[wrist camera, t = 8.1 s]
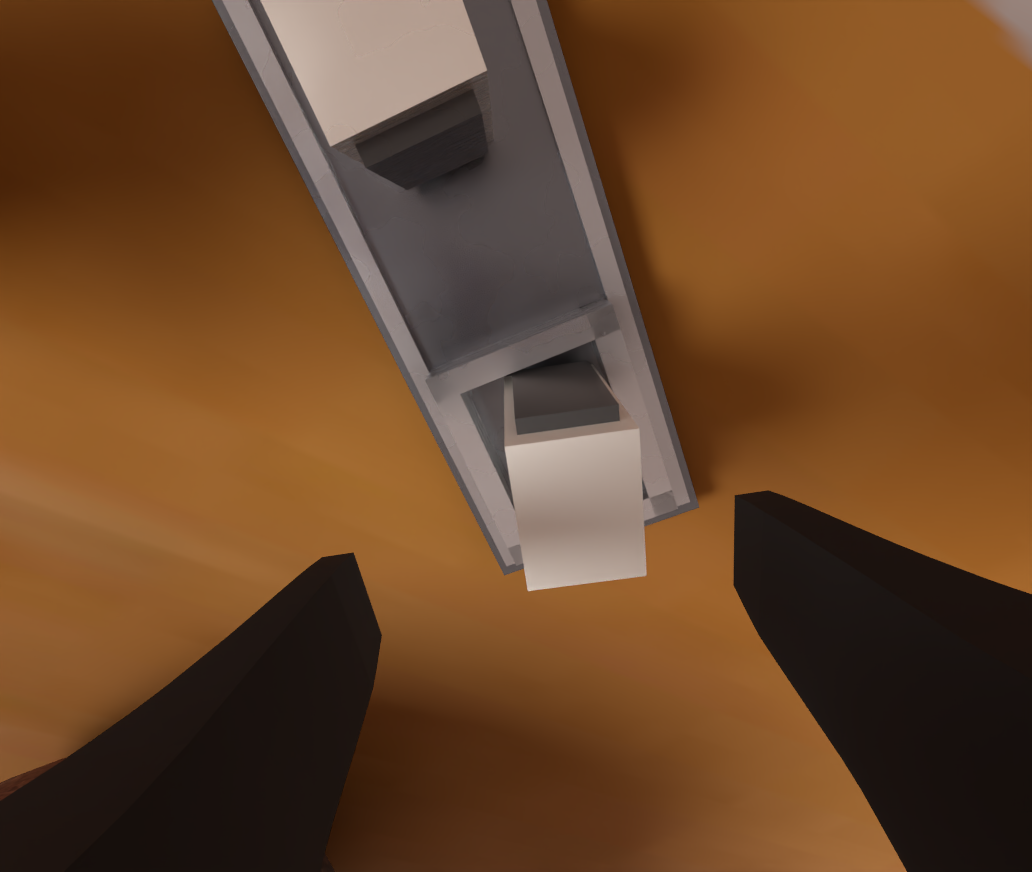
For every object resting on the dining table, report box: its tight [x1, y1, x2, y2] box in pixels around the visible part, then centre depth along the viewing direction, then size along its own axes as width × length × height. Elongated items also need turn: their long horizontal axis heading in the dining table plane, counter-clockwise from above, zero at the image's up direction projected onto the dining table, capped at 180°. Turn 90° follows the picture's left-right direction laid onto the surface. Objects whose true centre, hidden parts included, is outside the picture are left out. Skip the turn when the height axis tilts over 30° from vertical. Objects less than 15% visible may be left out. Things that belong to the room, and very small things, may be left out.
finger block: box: [504, 361, 646, 591], centre depth 14 cm, size 3×4×6 cm
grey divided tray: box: [212, 0, 699, 575], centre depth 13 cm, size 8×20×7 cm, turn 22°
